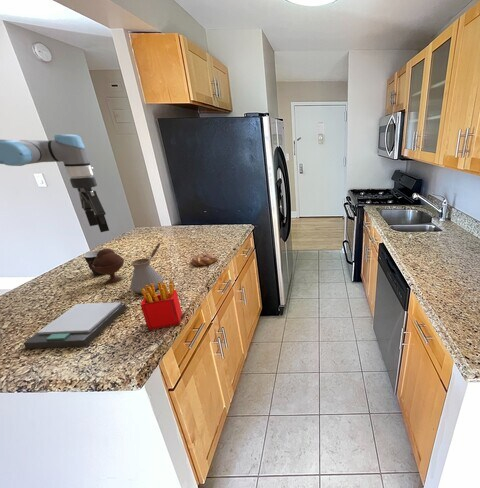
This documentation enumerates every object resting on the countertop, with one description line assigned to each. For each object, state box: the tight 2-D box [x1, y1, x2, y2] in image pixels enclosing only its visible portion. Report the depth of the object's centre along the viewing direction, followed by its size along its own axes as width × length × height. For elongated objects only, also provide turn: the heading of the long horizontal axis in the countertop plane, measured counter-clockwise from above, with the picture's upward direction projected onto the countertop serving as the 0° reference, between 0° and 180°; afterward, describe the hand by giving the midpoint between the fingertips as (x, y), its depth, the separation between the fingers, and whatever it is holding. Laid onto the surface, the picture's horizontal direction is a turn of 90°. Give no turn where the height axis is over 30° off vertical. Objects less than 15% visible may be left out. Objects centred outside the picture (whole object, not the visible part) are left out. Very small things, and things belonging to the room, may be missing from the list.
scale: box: [22, 301, 127, 350], centre depth 86 cm, size 17×19×3 cm
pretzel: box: [191, 253, 218, 267], centre depth 132 cm, size 12×11×4 cm
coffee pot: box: [129, 242, 164, 295], centre depth 110 cm, size 21×12×15 cm, turn 3°
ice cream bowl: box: [91, 247, 125, 285], centre depth 112 cm, size 11×11×15 cm
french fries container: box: [140, 280, 183, 331], centre depth 86 cm, size 7×9×14 cm
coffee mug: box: [83, 249, 106, 277], centre depth 118 cm, size 12×9×10 cm
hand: (99, 228), depth 110 cm, fingers open, 13 cm apart
